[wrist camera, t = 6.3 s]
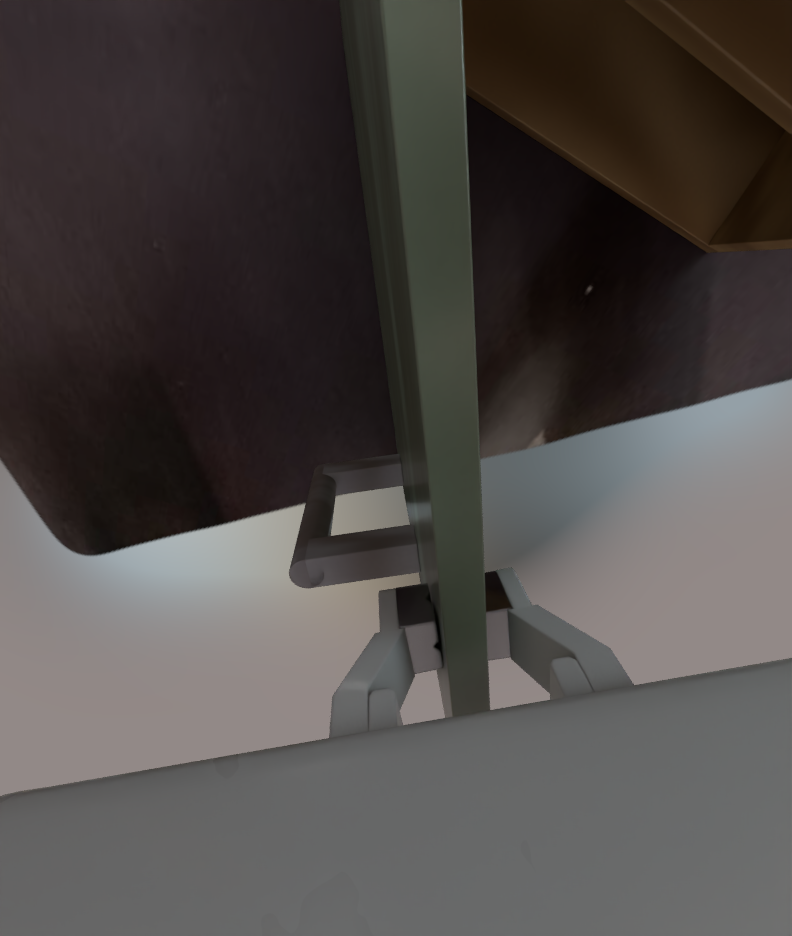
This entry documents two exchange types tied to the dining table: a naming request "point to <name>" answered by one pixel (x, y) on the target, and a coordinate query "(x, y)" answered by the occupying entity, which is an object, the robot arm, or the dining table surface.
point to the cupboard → (653, 103)
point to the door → (416, 334)
